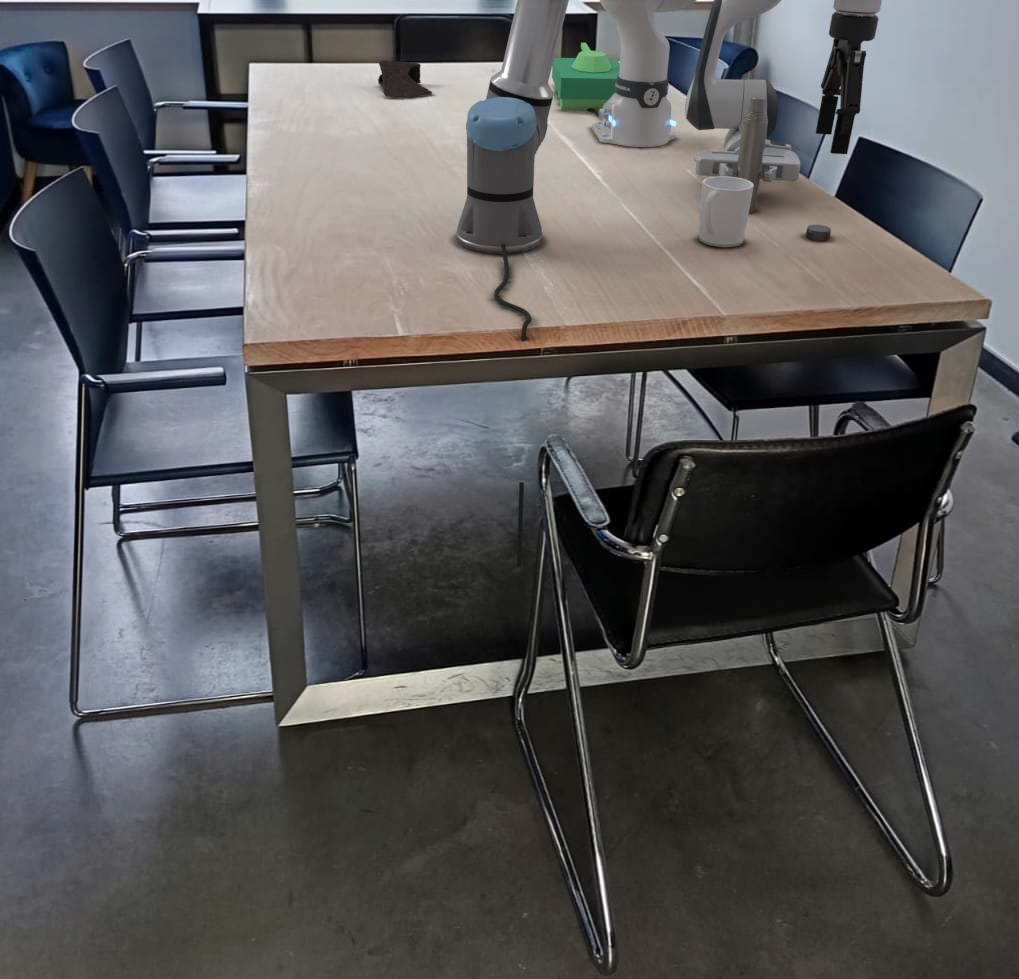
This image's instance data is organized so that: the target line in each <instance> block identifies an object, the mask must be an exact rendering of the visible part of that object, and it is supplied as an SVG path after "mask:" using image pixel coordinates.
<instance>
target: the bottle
mask: <svg viewBox="0 0 1019 979" xmlns="http://www.w3.org/2000/svg"><path fill="white" fill-rule="evenodd" d="M766 102H767V98H766V97H764V96H751V97H750V105H749V110H748V111H747V112H746V114H745V116H744V119H743V125H742V133H741V140H740V148H739V156H738V164H737V172H736V177H737V178H742V179H746V180H748V181H750V182H752V183H753V185H754V187H753V192H752V198H751V203H750V208H749V214H752V213H755V212H756V210H757V204H758V196H759V188H760V183H761V182H760V181H761V179H760V175H761V168H762V161H763V153H764V146H765V139H766V132H767V125H768V118H767V114H766V111H765V107H766Z"/></svg>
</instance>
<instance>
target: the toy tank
mask: <svg viewBox="0 0 1019 979" xmlns="http://www.w3.org/2000/svg"><path fill="white" fill-rule="evenodd" d="M580 49H581V51H580V52H578V54H577V56H576V57H554V61H553V65H552V69H551V79H552V81H553V84H554V92H555V93H556V94H557V95H558V99H559V107H560V110H561V111H586V110H587V109H590V108H592V109H595V110H597V111H599V109H603V105H604V104H605V103H606V102H607V101H608V100H609V99H610V98H611V97H612V95H613V94H614V93H615V91H614V89H615V83H616V80H617V77H618V76H619V69H620V61H618V59H617V58H609V57H608V54H607V53H605V52H603V51H601V50H600V51H598V50H591V48H590V47H589V45H588V44H587V42H581V43H580Z"/></svg>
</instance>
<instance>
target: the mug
mask: <svg viewBox="0 0 1019 979" xmlns="http://www.w3.org/2000/svg"><path fill="white" fill-rule="evenodd" d="M753 187H754V185H753V183H752V182H750V181H748V180H746V179H742V178H737V177H729V176H708V177H706V178H704V179H703V180H702V182H701V194H700V195H701V196H700V197H701V198H700V210H699V211H700V213H699V225H698V226H699V227H698V239H699V241H700V242H701V243H703V244H704V245H708V246H710V247H716V248H733V247H739V246H740V245H742V244H743V243H744V240H745V236H746V235H745V234H746V229H747V224H748V220H749V215H750V213H749V208H750V203H751V198H752V192H753Z"/></svg>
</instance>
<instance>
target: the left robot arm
mask: <svg viewBox="0 0 1019 979" xmlns="http://www.w3.org/2000/svg"><path fill="white" fill-rule="evenodd" d="M569 1H570V0H516V5H515V9H514V14H513V18H512V22H511V26H510V31H509V35H508V40H507V44H506V48H505V52H504V57H503V61H502V66H501V69H500V70H499V71H498V72H496V73H495V74H494V75H492V76H491V77H490V80H489V84H488V87H487V88H488V89H487V92H486V98H485V99H484V100H479V101H477V102H475V103H474V104H473V105H471V106H470V108H469V109H468V111H467V119H466V123H465V130H466V192H467V193H466V198H465V202H464V205H463V209H462V211H461V214H460V218H459V220H458V224H457V228H456V241H457V243H458V244H459V245H461V246H462V247H464V248H466V249H468V250H470V251H475V252H479V253H486V254H497V255H499V254H500V255H502V260H503V267H504V268H503V269H504V270H503V271H504V274H503V275H504V276H503V279H502V282H501V283H500V284H499V285H498V286H497V287H496V289H495V290H494V293H493V297H494V299H495V301H496V302H497V303H498V304H500V305H502V306H504V307H507V308H508V309H511V310H513V311H516V312H519V313H520V314H522V315H523V316H524V317H525V318H526V319H525V320H524V321H523V323H522V327H521V333H520V340H521V342H525V341H527V331H528V326H529V325H530V323H531V322H532V319H533V318H532V315H531V314H530V312H529V311H527V309H525V308H523V307H521V306H518V305H516V304H514V303H511V302H509V301H506V300H504V299H503V298H501V297H500V295H499V294H500V292H501V291H502V290H503V289H504V288H505V286H506V285H507V284H508V281H509V277H510V275H509V274H510V267H509V266H510V265H509V258H508V254H517V253H524V252H527V251H530V250H533V249H536V248H538V247H539V246H540V245H541V244H542V243H543V229H542V224H541V221H540V220H541V219H540V218H539V214H538V213H539V212H538V210H537V206H536V204H535V199H534V184H535V181H534V180H535V158H536V154H537V152H538V150H539V148H540V146H541V145H542V143H543V142H544V140H545V137H546V135H547V131H548V127H549V126H548V121H549V120H548V119H549V116H550V111H551V107H552V103H553V100H554V91H553V90H552V88H551V86H550V84H549V80H550V77H551V74H552V65H553V61H554V58H556V57H555V56H556V52H557V49H558V45H559V41H560V36H561V34H562V30H563V26H564V21H565V17H566V13H567V11H568V10H567V9H568V5H569ZM882 3H883V1H882V0H834V1H833V5H832V8H833V9H834V10H835V12H833V13H832V14H831V17H830V18H831V19H830V24H829V28H828V35H829V36H830V37H831V38H833V41H832V48H831V52H830V55H829V57H828V61H827V65H826V67H825V71H824V74H823V78H822V80H821V83H820V89H821V92H822V96H821V101H820V106H819V112H818V116H817V118H818V119H817V122H816V127H815V134H816V135H829V136H830V135H832V133H833V136H832V141H831V147H830V151H829V152H830V154H833V155H848V153H849V147H850V142H851V138H852V131H853V127H854V123H855V119H856V118H855V117H856V115H859V114H860V113H861V102H862V93H863V92H862V91H863V79H864V69H865V62H866V57H867V51H866V50H862V43H864V42H870V41H871V42H872V41H873V40H874V39H875V38H876V33H877V29H878V23H879V20H880V19H879V17H878V15H877V14H878V13H880V12H881V7H882ZM839 96H840V103H839V106H840V107H839V108H837V106H838V102H839ZM835 117H836V118H835ZM835 120H836V121H835ZM834 123H835V126H834ZM833 128H834V130H833ZM518 485H519V486H518V511H517V512H518V513H517V514H518V516H517V517H518V519H517V522H518V523H517V549H516V567H517V568H522V554H523V529H524V528H523V525H524V492H525V482H522V481H519V484H518Z"/></svg>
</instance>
